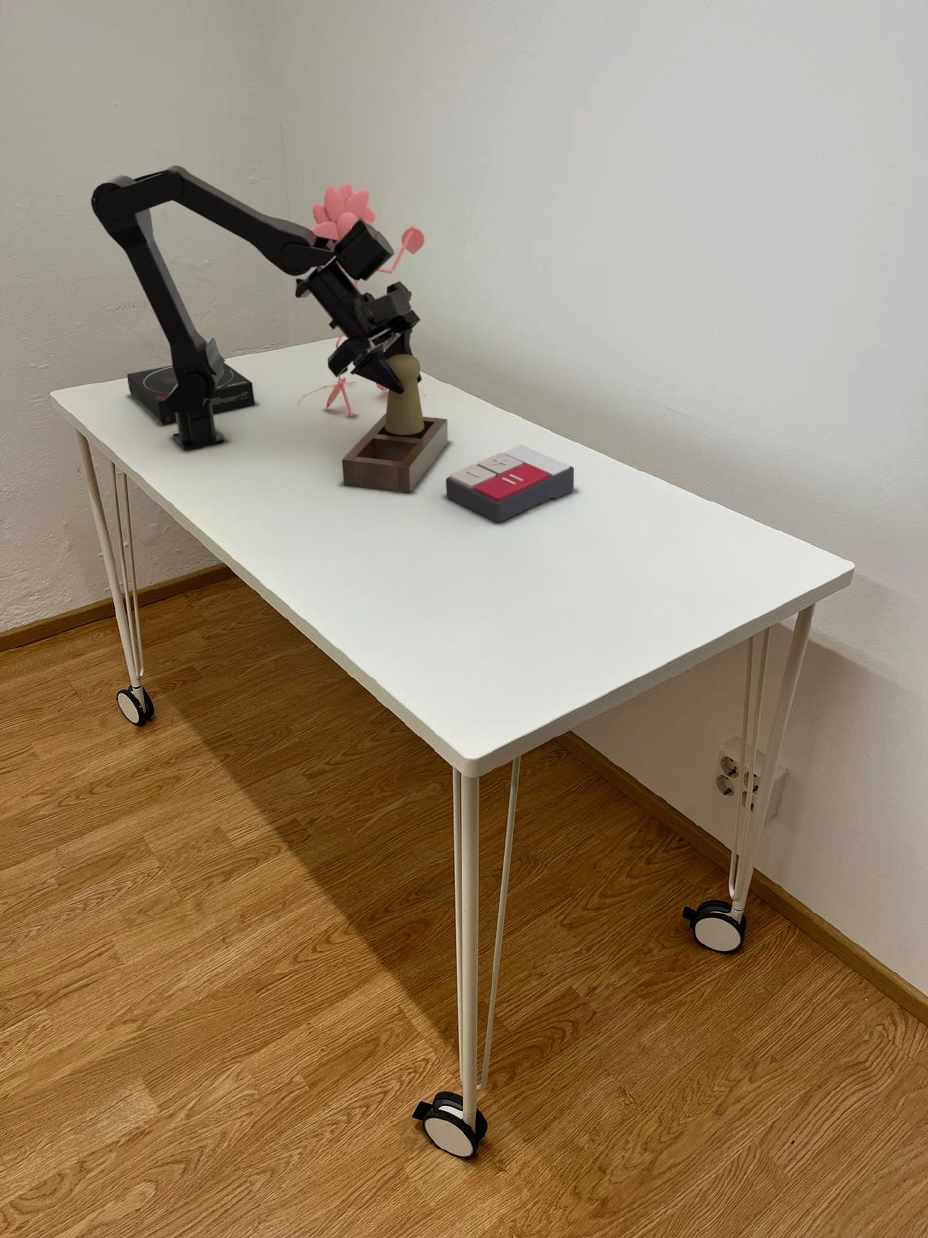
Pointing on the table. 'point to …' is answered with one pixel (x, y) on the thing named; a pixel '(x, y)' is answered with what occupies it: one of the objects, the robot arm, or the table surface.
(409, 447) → the hole block
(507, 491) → the calculator
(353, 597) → the table surface
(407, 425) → the olive game pawn
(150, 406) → the portable cd player
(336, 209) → the figurine
